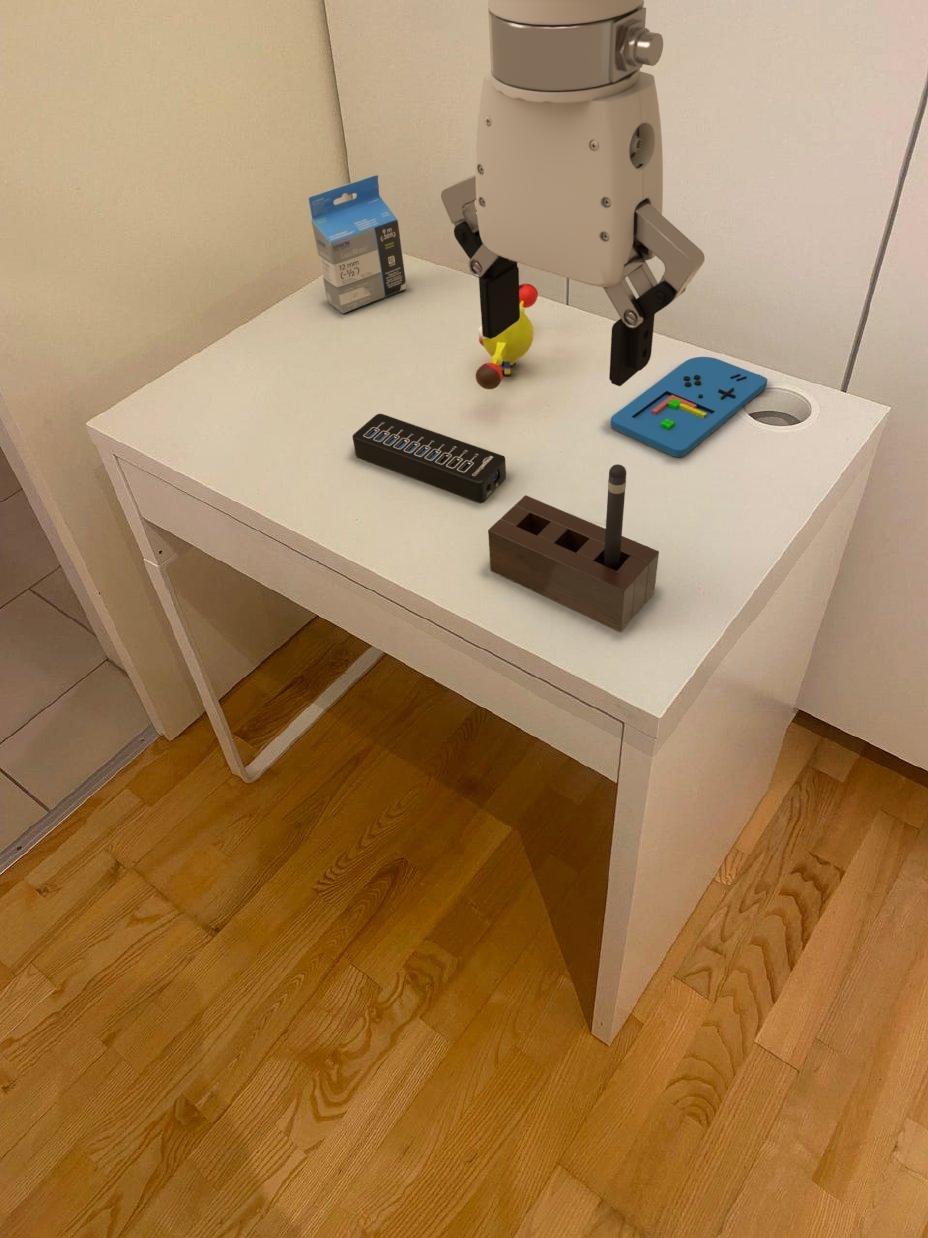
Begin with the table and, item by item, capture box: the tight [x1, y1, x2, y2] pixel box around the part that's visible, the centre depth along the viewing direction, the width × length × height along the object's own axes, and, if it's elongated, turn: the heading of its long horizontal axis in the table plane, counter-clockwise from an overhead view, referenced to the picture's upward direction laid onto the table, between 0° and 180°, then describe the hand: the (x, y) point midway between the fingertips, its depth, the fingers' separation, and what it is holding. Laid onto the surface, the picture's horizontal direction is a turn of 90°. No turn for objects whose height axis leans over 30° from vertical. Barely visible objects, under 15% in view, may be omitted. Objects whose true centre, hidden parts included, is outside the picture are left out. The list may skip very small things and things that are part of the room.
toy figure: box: [475, 283, 539, 390], centre depth 97 cm, size 18×6×7 cm, turn 164°
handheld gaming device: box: [610, 356, 768, 458], centre depth 92 cm, size 8×1×15 cm
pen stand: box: [487, 494, 660, 633], centre depth 76 cm, size 5×12×4 cm, turn 53°
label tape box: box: [308, 174, 407, 314], centre depth 107 cm, size 9×4×12 cm, turn 124°
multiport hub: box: [351, 413, 507, 504], centre depth 88 cm, size 4×14×2 cm, turn 57°
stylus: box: [604, 463, 627, 571], centre depth 71 cm, size 1×1×13 cm
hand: (562, 350), depth 60 cm, fingers open, 9 cm apart
